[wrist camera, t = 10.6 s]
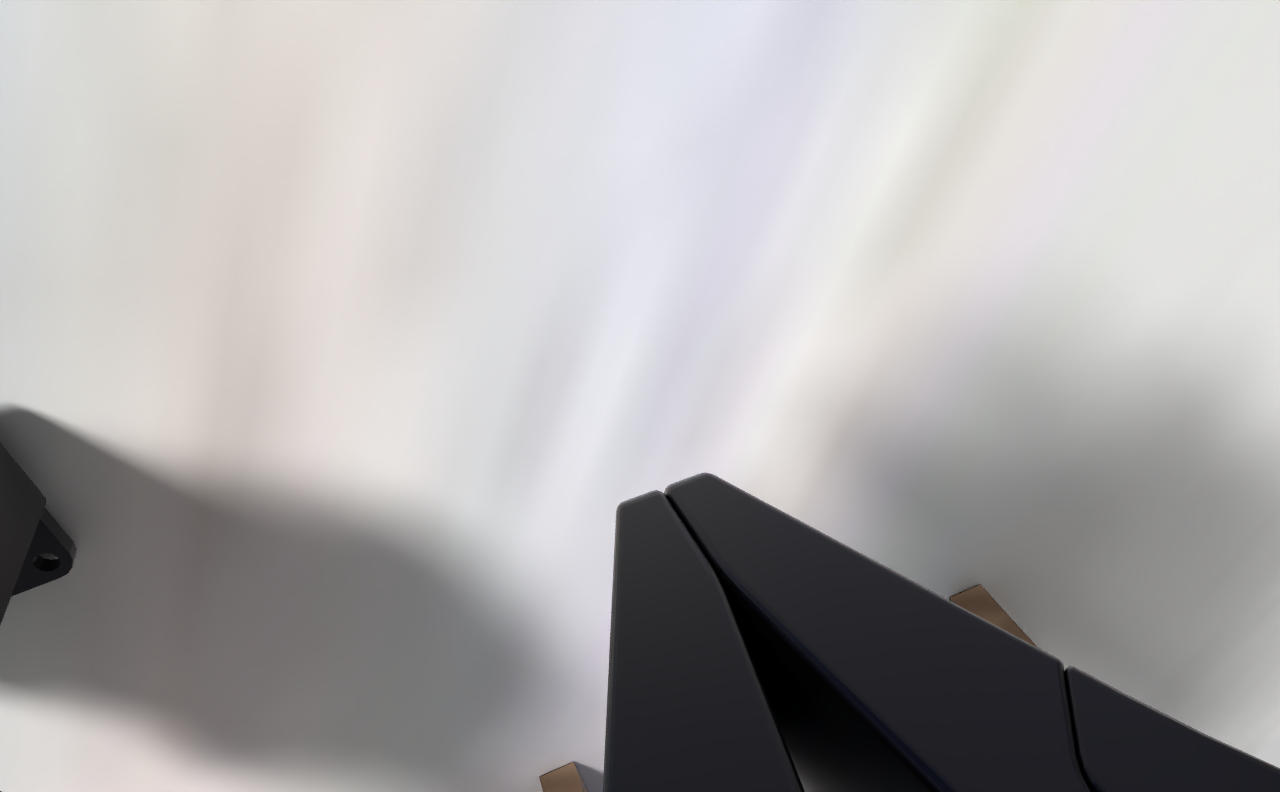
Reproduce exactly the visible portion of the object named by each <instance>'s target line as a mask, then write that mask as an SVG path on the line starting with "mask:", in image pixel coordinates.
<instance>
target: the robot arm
mask: <svg viewBox="0 0 1280 792" xmlns="http://www.w3.org/2000/svg"><path fill="white" fill-rule="evenodd" d="M45 504H46V498H45V497H44V495H43V494H42V493H41V492H40V491H39V489H38V488H37V487H36V486H35V485H34V483H33V482H32V481H31V480H30V479H29V477H28V476H27V475H26V474H25V472H24V471H23V470H22V469H21V468H20V466H19V465H18V464H17V463H16V462H15V460H14V459H13V458H12V457H11V456H10V454H9V453H8V452H7V451H6V449H5V448H4V447H3V446H2V445H1V443H0V625H1V622H2V619H3V617H4V614H5V611H6V609H7V606H8V603H9V601H10V598H11V596H13V595H16V594H19V593H21V592H24V591H27V590H29V589H32V588H34V587H37V586H40V585H42V584H45V583H48V582H50V581H53V580H56V579H58V578H61V577H62V576H64V575H66V574H67V573H68V572H69V571H70V570H71V568H72V567H73V564H74V560H75V557H76V550H77V548H76V546H75V544H74V542H73V541H72V540H71V539H70V537H69V536H68V535H67V534H66V533H65V531H64V530H63V529H62V528H61V527H60V525H59V524H58V523H57V522H56V521H55V519H54V518H53V517H52V516H51V515H50V513H49V512H48V511H47V510H46V509H45ZM43 553H50V554H54V555H55V556H57V557H58V559H52V560H50V559H44V558H42V557H41V556H40V555H39V554H43ZM0 792H1V791H0ZM603 792H1280V768H1278V767H1276V766H1274V765H1271V764H1269V763H1267V762H1265V761H1263V760H1260V759H1258V758H1256V757H1254V756H1252V755H1249V754H1247V753H1245V752H1243V751H1241V750H1238V749H1236V748H1234V747H1232V746H1230V745H1227V744H1225V743H1223V742H1221V741H1218V740H1216V739H1214V738H1212V737H1210V736H1207V735H1205V734H1203V733H1201V732H1199V731H1197V730H1195V729H1193V728H1191V727H1190V726H1188V725H1186V724H1184V723H1182V722H1180V721H1178V720H1176V719H1174V718H1172V717H1170V716H1168V715H1166V714H1164V713H1162V712H1160V711H1158V710H1156V709H1154V708H1152V707H1150V706H1148V705H1146V704H1144V703H1142V702H1140V701H1138V700H1136V699H1134V698H1132V697H1130V696H1128V695H1126V694H1124V693H1122V692H1120V691H1118V690H1117V689H1115V688H1113V687H1111V686H1109V685H1107V684H1105V683H1103V682H1102V681H1100V680H1098V679H1096V678H1094V677H1092V676H1090V675H1088V674H1087V673H1085V672H1083V671H1081V670H1079V669H1077V668H1075V667H1072V666H1070V667H1068V668H1066V669H1065V672H1064V666H1063V663H1062V661H1061V660H1059V659H1058V658H1056V657H1054V656H1052V655H1050V654H1048V653H1046V652H1045V651H1043V650H1041V649H1039V648H1037V647H1035V646H1033V645H1031V644H1030V643H1028V642H1026V641H1024V640H1022V639H1020V638H1018V637H1016V636H1015V635H1013V634H1011V633H1009V632H1007V631H1005V630H1003V629H1001V628H1000V627H998V626H996V625H994V624H992V623H990V622H988V621H986V620H985V619H983V618H981V617H979V616H977V615H975V614H973V613H971V612H970V611H968V610H966V609H964V608H962V607H960V606H958V605H956V604H955V603H953V602H951V601H949V600H947V599H945V598H943V597H941V596H940V595H938V594H936V593H934V592H932V591H930V590H928V589H927V588H925V587H923V586H921V585H919V584H917V583H915V582H913V581H912V580H910V579H908V578H906V577H904V576H902V575H900V574H898V573H897V572H895V571H893V570H891V569H889V568H887V567H885V566H883V565H882V564H880V563H878V562H876V561H874V560H872V559H870V558H868V557H867V556H865V555H863V554H861V553H859V552H857V551H855V550H853V549H852V548H850V547H848V546H846V545H844V544H842V543H840V542H838V541H837V540H835V539H833V538H831V537H829V536H827V535H825V534H823V533H822V532H820V531H818V530H816V529H814V528H812V527H810V526H809V525H807V524H805V523H803V522H801V521H799V520H797V519H795V518H794V517H792V516H790V515H788V514H786V513H784V512H782V511H780V510H779V509H777V508H775V507H773V506H771V505H769V504H767V503H765V502H764V501H762V500H760V499H758V498H756V497H754V496H752V495H750V494H749V493H747V492H745V491H743V490H741V489H739V488H737V487H735V486H734V485H732V484H730V483H728V482H726V481H724V480H722V479H720V478H719V477H717V476H715V475H713V474H709V473H701V474H698V475H695V476H692V477H690V478H687V479H684V480H681V481H679V482H676V483H673V484H670V485H669V486H668V487H667V488H666V489H665V492H664V493H663V492H661V491H657V490H655V491H651V492H649V493H646V494H643V495H640V496H638V497H635V498H632V499H629V500H627V501H624V502H622V503H620V505H619V506H618V508H617V511H616V528H615V549H614V570H613V591H612V612H611V633H610V654H609V675H608V696H607V717H606V738H605V759H604V780H603Z"/></svg>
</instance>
